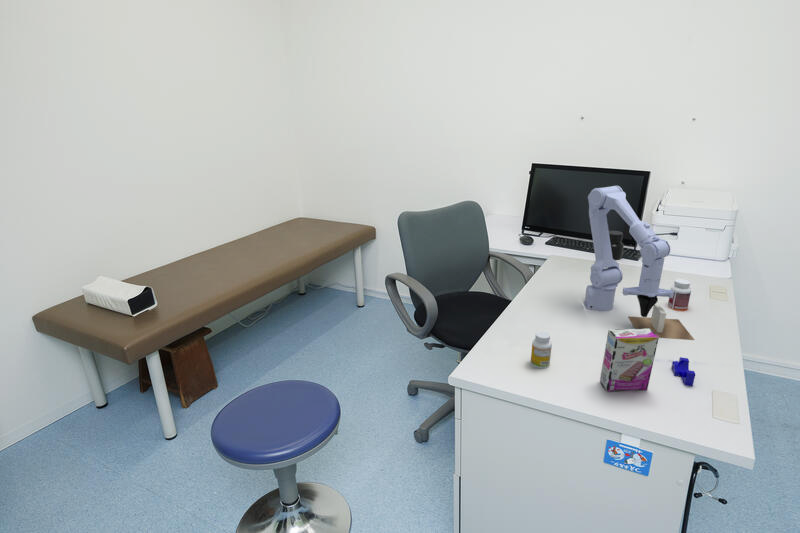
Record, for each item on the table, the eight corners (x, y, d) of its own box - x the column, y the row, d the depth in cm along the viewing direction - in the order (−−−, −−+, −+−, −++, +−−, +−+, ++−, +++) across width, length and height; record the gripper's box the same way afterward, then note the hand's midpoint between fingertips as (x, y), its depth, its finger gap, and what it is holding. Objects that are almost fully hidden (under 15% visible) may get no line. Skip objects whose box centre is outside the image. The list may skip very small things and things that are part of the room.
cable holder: (671, 368, 131) (673, 356, 130) (685, 370, 130) (687, 358, 129) (677, 384, 124) (680, 372, 123) (692, 386, 123) (695, 374, 122)
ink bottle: (607, 252, 223) (611, 228, 219) (625, 256, 217) (629, 232, 213) (597, 257, 218) (600, 232, 213) (615, 261, 211) (619, 236, 207)
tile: (657, 332, 148) (660, 312, 146) (650, 322, 155) (653, 303, 152) (662, 332, 148) (666, 313, 145) (656, 322, 154) (659, 303, 152)
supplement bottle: (535, 356, 139) (537, 328, 135) (552, 362, 135) (555, 333, 132) (527, 364, 135) (529, 335, 131) (545, 370, 132) (548, 341, 128)
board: (638, 339, 147) (639, 336, 146) (627, 318, 159) (627, 316, 159) (694, 342, 144) (694, 340, 143) (677, 321, 156) (678, 319, 156)
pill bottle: (690, 310, 164) (696, 282, 160) (681, 315, 161) (687, 286, 157) (672, 304, 169) (678, 276, 165) (663, 308, 166) (669, 280, 162)
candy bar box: (607, 392, 121) (616, 338, 116) (599, 381, 126) (607, 328, 120) (649, 391, 122) (659, 336, 116) (639, 380, 126) (649, 327, 121)
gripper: (629, 281, 144) (622, 319, 148) (680, 283, 141) (672, 322, 146) (623, 272, 150) (617, 310, 155) (671, 274, 147) (664, 312, 152)
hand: (643, 315), depth 151 cm, fingers closed
